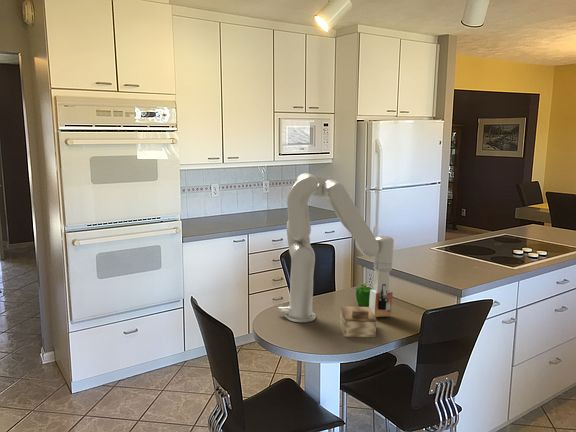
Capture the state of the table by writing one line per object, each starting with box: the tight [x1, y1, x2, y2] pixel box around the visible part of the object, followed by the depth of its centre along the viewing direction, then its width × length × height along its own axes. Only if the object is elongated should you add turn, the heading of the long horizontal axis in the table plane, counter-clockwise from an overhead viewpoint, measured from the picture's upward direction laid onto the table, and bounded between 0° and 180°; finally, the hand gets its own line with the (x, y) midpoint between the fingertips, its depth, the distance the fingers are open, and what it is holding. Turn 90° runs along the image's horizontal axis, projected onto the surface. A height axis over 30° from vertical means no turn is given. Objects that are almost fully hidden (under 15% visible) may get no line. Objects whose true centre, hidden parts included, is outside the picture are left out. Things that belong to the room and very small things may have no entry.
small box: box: [368, 289, 394, 318], centre depth 205 cm, size 8×6×10 cm
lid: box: [340, 305, 377, 322], centre depth 190 cm, size 12×14×3 cm
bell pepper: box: [355, 282, 374, 307], centre depth 220 cm, size 8×8×10 cm
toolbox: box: [339, 310, 377, 338], centre depth 190 cm, size 12×14×6 cm
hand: (380, 306), depth 205 cm, fingers closed on small box, 6 cm apart
